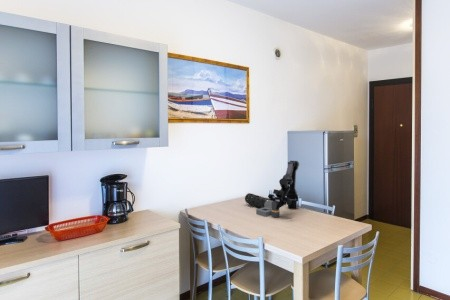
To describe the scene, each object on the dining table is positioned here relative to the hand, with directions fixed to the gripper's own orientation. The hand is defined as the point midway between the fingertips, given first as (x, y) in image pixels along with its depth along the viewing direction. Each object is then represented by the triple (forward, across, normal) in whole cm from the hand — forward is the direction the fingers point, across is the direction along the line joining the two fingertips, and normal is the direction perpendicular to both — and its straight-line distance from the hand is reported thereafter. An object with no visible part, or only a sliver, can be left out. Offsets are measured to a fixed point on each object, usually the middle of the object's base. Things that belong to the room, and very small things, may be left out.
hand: (274, 208), depth 227 cm
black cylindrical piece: (-4, -29, +16) cm, 33 cm away
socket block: (+4, -10, +6) cm, 12 cm away
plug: (+3, 0, +5) cm, 6 cm away
